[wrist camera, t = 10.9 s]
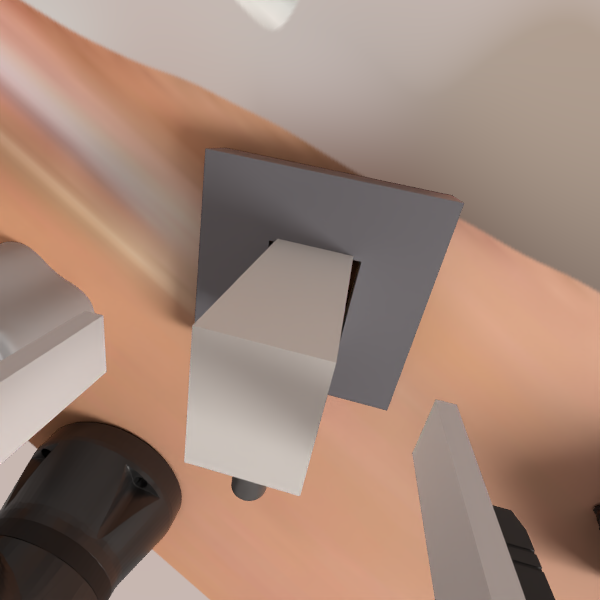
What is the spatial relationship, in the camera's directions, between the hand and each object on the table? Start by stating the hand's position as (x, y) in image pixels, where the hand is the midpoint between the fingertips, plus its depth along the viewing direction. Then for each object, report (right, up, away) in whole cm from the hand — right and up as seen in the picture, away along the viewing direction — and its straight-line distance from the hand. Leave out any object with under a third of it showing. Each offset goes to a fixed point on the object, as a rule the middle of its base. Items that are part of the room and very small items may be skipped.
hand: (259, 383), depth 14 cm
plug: (+2, +3, +11) cm, 12 cm away
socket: (+2, +5, +11) cm, 12 cm away
